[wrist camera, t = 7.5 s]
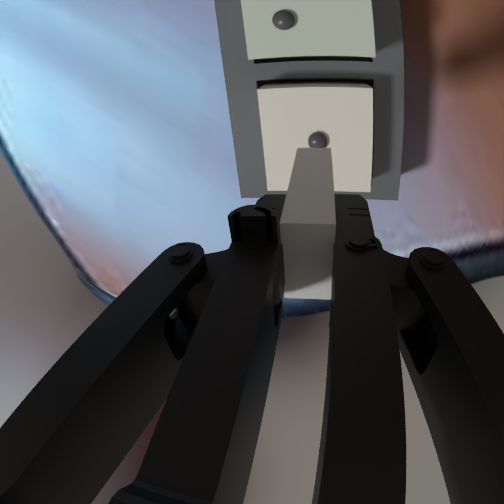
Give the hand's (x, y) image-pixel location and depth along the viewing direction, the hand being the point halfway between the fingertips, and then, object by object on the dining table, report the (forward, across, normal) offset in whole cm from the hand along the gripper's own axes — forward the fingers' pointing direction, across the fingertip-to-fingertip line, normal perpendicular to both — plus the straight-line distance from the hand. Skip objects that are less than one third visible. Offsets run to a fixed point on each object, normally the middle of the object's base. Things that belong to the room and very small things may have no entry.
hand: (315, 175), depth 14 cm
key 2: (+9, 0, +9) cm, 12 cm away
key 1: (+10, 0, 0) cm, 10 cm away
